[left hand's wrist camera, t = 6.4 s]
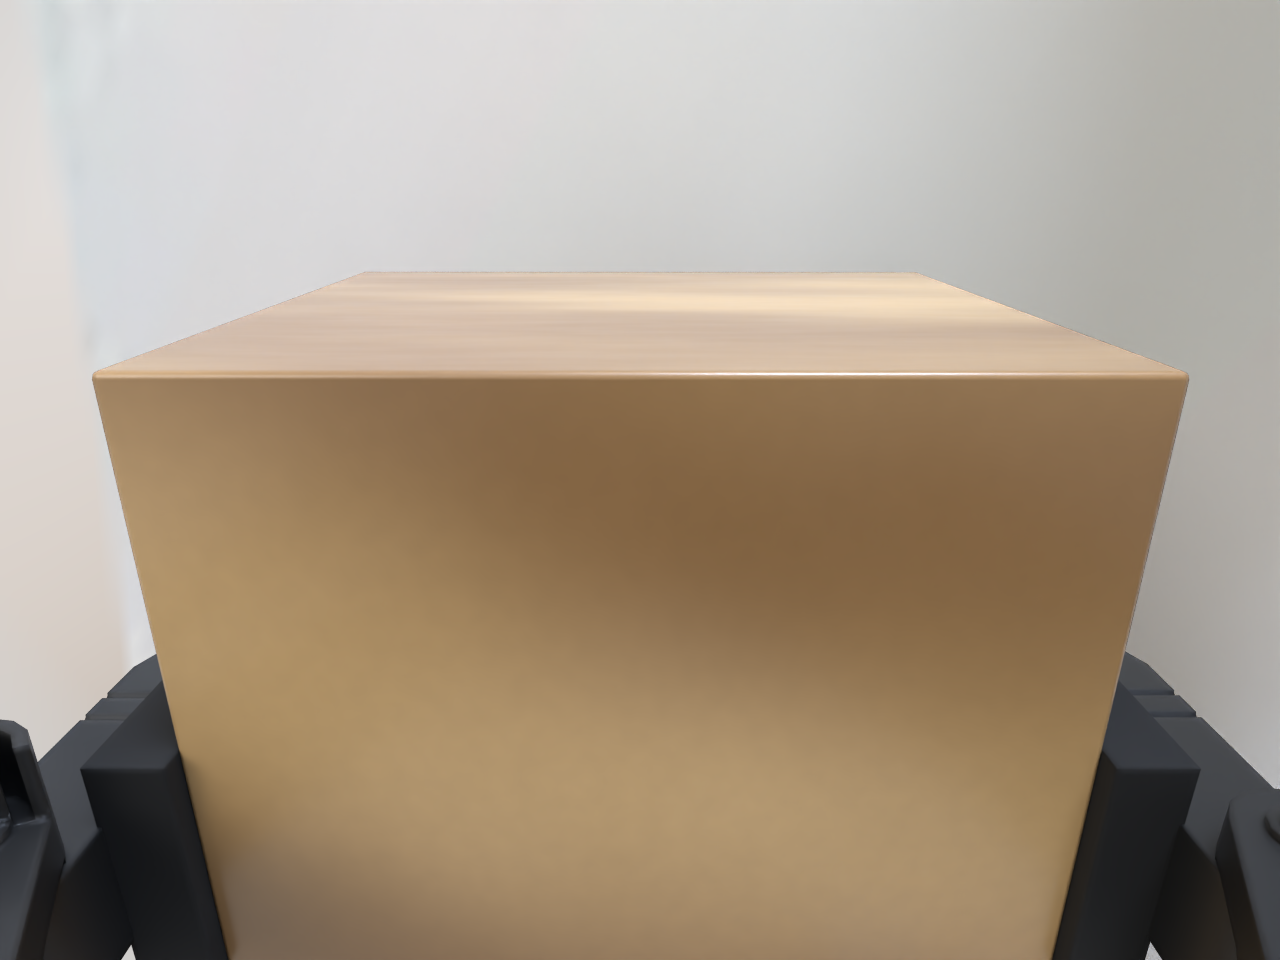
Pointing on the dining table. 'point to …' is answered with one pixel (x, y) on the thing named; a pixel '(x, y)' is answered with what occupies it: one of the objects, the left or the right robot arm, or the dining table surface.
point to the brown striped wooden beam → (640, 610)
